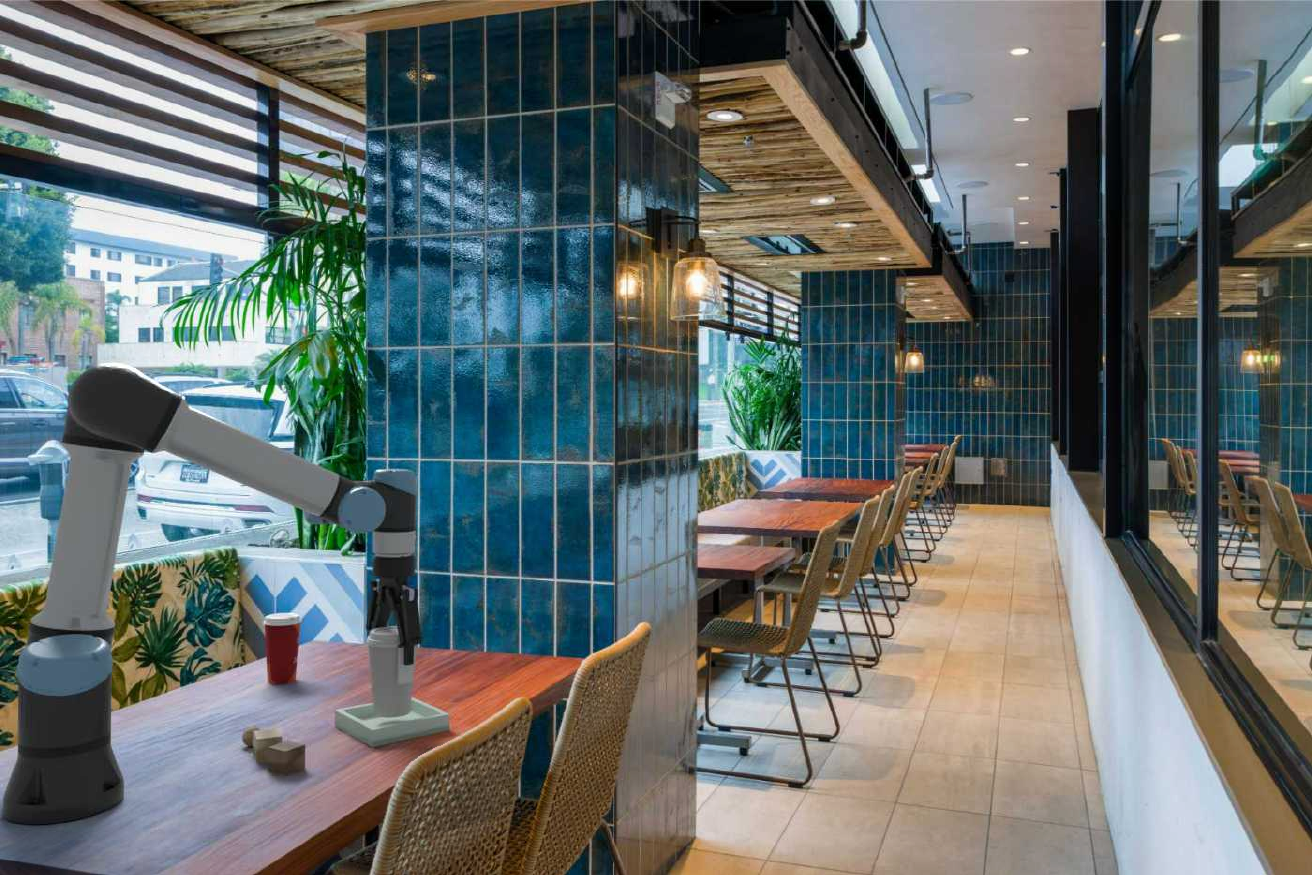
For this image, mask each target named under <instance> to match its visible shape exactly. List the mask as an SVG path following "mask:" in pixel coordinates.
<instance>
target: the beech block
mask: <svg viewBox="0 0 1312 875" xmlns="http://www.w3.org/2000/svg"><path fill="white" fill-rule="evenodd" d="M281 742H283V735H282V732H281V730H280V727H275V728H266V729H260V730H256V731H253V746H252V756H253V757H254V761H255V764H261V763H268V747H270V746H273V745H275V744H278V743H281Z"/></svg>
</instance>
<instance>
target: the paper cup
mask: <svg viewBox="0 0 1312 875" xmlns="http://www.w3.org/2000/svg"><path fill="white" fill-rule="evenodd" d="M301 622H303V621H302V619H301V615H300V614H299V613H296V612H277V613H270V614H268V615H266V616H265V619H264V621H263V625H264V631H265V634H264V635H265V653H266V671H267V672H266V673H267V682H268V684H271V685H288V684H292V683H294V682H296V681H297V673H298V672H297V671H298V656H299V644H300V643H299V642H300V631H301V630H300V629H301Z"/></svg>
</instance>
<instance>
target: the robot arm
mask: <svg viewBox="0 0 1312 875" xmlns="http://www.w3.org/2000/svg"><path fill="white" fill-rule="evenodd" d="M66 409H67V410H66V415H65V421H64V425H63V426H64V427H63V432H62V439H61V446H62V447H63V448H64V450H66V452H67V453H68V454H69V457H70V458H69V463H68V469H67V474H66V480H65V485H64V486H65V487H64V493H63V498H62V504H61V510H60V515H59V520H58V526H57V532H56V539H55V544H54V550H53V555H52V560H51V568H50V573H49V579H48V584H47V589H46V594H45V596H46V597H45V601H44V607H43V609H42V610H41V611H39V612H38V613H37V614H36V615H34V616H32V617H31V618H30V622H29V627H28V634H27V637H26V638H27V640H26V645H25V647H24V648H23V649H22V650H21V652H20V653H19V657H18V663H17V665H16V672H15V673H16V678H17V757H16V762H15V763H14V766H13V770H12V772H11V775H10V777H9V780H8V783H7V786H6V789H5V792H4V794H3V796H2V816H3V818H5V820H7V821H10V822H13V823H16V824H23V825H24V824H25V825H44V824H45V825H46V824H57V823H64V822H68V821H75V820H78V819H83V818H84V819H85V818H88V817H90V816H94V815H96V814H99V813H102V812H105V811H107V810H109V809H111V808H112V807H114V806H116V805H117V804H119V803H120V802H121V801H122V800H123V798H124V796H125V781H124V777H123V774H122V771H121V769H120V765H119V764H118V760H117V757H116V755H115V753H114V750H113V747H112V670H113V666H114V657H113V655H112V645H113V640H114V635H115V629H116V622H115V621H114V620H113V618H112V617H110V615H109V614H108V605H109V600H110V594H111V588H112V582H113V578H114V577H113V575H114V570H115V564H116V559H117V553H118V547H119V546H118V545H119V540H120V535H121V529H122V523H123V516H124V512H125V511H124V510H125V505H126V499H127V494H128V487H129V481H130V475H131V471H132V465H133V463H134V462H136V461H137V460H138V459H140V458H142V457H143V456H144V455H145V452H149V453H151V454H157V453H160V452H166V453H168V454H171V455H174V456H176V457H178V458H181V459H183V460H185V461H187V462H190V463H192V464H194V465H197V466H199V467H202V468H204V469H207V470H209V471H211V472H213V473H215V474H218V475H220V476H223V477H224V478H226V479H227V478H228V479H229V480H232V481H234V482H237V483H239V484H241V485H243V486H245V487H248V488H251V489H252V490H255V491H257V492H259V493H262V494H264V495H267V496H270V497H272V498H274V499H277V500H278V501H281V502H283V503H286V504H288V505H291V506H293V507H295V508H298V509H299V510H302V511H303V515H304V519H305V521H306V523H308V524H310V525H322V526H325V525H332V524H333V525H337V526H338V527H341V528H343V529H344V530H346V531H349V532H351V533H352V534H353V533H354V534H367V533H370V532H372V553H374V555H373V557H372V575H373V576H374V577H375V578H379V579H372V580H370V586H369V587H370V593H369V594H370V595H369V601H368V608H367V614H366V616H367V617H366V624H365V630H366V631H369V633H370V632H371V630H373V629H376V628H380V627H388V623H389V621H390V617H391V613H392V612H393V615H394V619H395V623H396V626H397V628H398V633H399V638H400V642H401V644H399V645H398V684H403V683H409V682H413V683H414V678H415V669H414V646H416V645H417V646H418V645H421V644H422V642H423V641H422V640H423V639H422V631H421V623H420V622H421V621H420V611H419V604H418V603H419V602H418V600H419V589H418V588H417V587H415V588H412V587H411V588H410V585H409V578H410V577H412V576H414V575H415V574H416V556H415V554H414V552H415V551H416V539H417V535H416V522H417V521H416V520H417V515H416V514H417V496H418V493H417V478H416V477H417V476H416V474H415V472H414V471H413V470H411V469H407V468H406V469H405V468H404V469H403V468H385V469H384V468H381V469H376V470H375V471H374V473H373V477H372V479H370V480H351V479H349V478H346V477H344V476H341V475H339V474H337V473H336V472H333V471H332V470H330V469H328V468H325V467H323V466H320V465H318V464H316V463H314V462H311V461H309V460H307V459H305V458H302V457H301V456H299V455H297V454H294V453H292V452H289V451H287V450H286V449H283V448H281V447H279V446H277V445H274V444H273V443H270V442H268V441H266V440H263V439H262V438H260V437H257V436H255V435H252V434H250V433H248V432H246V431H244V430H242V429H239V428H237V427H235V426H233V425H230V424H229V423H226V422H224V421H223V420H220V419H217V417H213V416H211V415H208V414H207V413H205V412H202V411H200V410H198V409H195V408H194V407H191V406H189V405H188V402H187V400H186V397H185V396H183V395H181V394H180V393H178V392H175V391H173V390H171V389H169V388H167V387H166V386H164V385H162V384H160V383H158V382H157V381H155V380H153V379H152V378H150V377H149V376H147V374H145V373H142V372H141V371H140V370H139V369H137V368H135V367H133V366H130V365H127V364H123V363H118V362H106V363H105V362H104V363H100V364H99V363H98V364H97V365H93V366H91V367H89V368H88V369H86V370H85V371H83V372H82V373H81V374H79V375H78V377H77V378H75V380H74V381H73V383H72V384H71V386H70V387H69V391H68V395H67V408H66Z"/></svg>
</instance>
